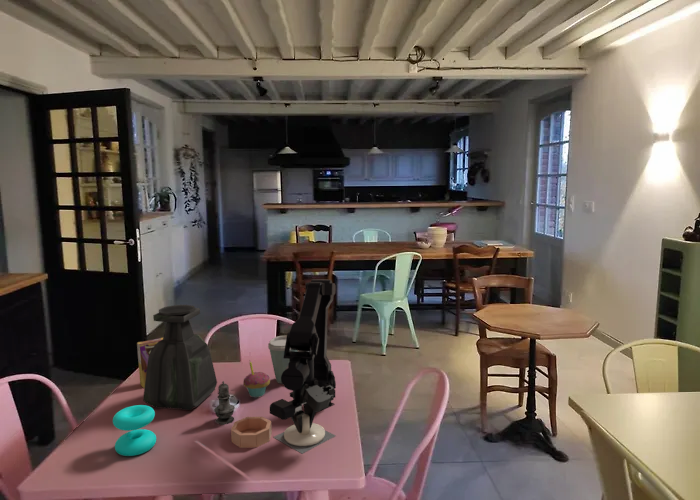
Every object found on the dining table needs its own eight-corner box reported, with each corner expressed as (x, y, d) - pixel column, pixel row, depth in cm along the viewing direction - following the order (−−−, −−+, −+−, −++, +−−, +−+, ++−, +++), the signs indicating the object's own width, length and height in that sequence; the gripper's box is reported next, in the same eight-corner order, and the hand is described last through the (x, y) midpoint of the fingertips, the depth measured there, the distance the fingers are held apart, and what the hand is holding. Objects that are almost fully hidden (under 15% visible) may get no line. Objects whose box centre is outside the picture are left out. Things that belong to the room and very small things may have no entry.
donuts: (139, 400, 131) (162, 408, 126) (141, 434, 132) (164, 444, 127) (104, 414, 122) (127, 424, 117) (107, 451, 124) (130, 462, 118)
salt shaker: (229, 426, 136) (228, 385, 135) (210, 424, 137) (208, 384, 136) (238, 416, 142) (237, 377, 140) (220, 414, 143) (218, 376, 142)
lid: (306, 421, 137) (306, 403, 136) (333, 434, 129) (333, 416, 128) (275, 435, 129) (275, 417, 128) (302, 450, 121) (301, 431, 120)
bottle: (219, 391, 160) (215, 303, 156) (195, 414, 144) (190, 316, 140) (170, 387, 163) (165, 301, 159) (141, 409, 147) (134, 314, 143)
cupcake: (247, 401, 152) (246, 365, 150) (240, 391, 159) (239, 357, 158) (273, 396, 156) (272, 360, 154) (265, 386, 163) (264, 352, 162)
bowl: (256, 426, 136) (256, 413, 135) (278, 439, 129) (277, 425, 128) (225, 440, 129) (224, 426, 128) (247, 454, 122) (246, 439, 121)
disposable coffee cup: (297, 386, 163) (296, 344, 161) (266, 387, 163) (264, 344, 161) (301, 374, 173) (300, 334, 171) (271, 375, 173) (270, 334, 171)
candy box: (165, 378, 171) (163, 336, 170) (169, 381, 168) (167, 339, 166) (139, 384, 166) (136, 341, 164) (142, 388, 163) (139, 345, 161)
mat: (306, 423, 137) (306, 421, 137) (336, 437, 129) (336, 435, 129) (273, 439, 129) (273, 437, 129) (302, 455, 121) (302, 453, 120)
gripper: (295, 394, 114) (297, 455, 116) (349, 372, 128) (350, 427, 130) (267, 382, 122) (269, 439, 124) (321, 362, 135) (322, 414, 137)
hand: (304, 430), depth 129 cm, fingers closed on lid, 3 cm apart
